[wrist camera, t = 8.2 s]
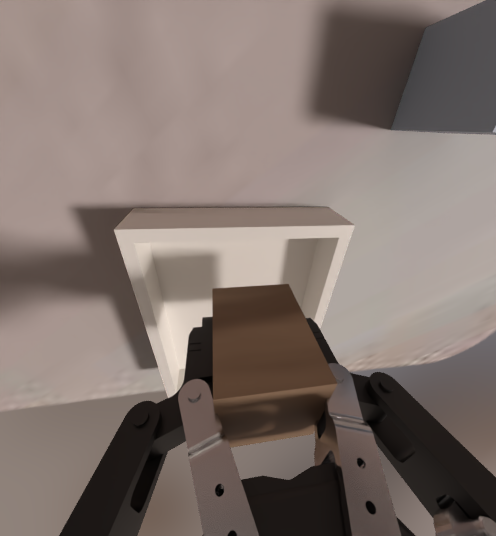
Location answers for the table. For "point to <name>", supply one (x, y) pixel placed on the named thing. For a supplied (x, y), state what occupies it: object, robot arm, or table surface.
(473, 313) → the table surface
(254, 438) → the walnut block
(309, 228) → the tray
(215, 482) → the robot arm
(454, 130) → the slate block
